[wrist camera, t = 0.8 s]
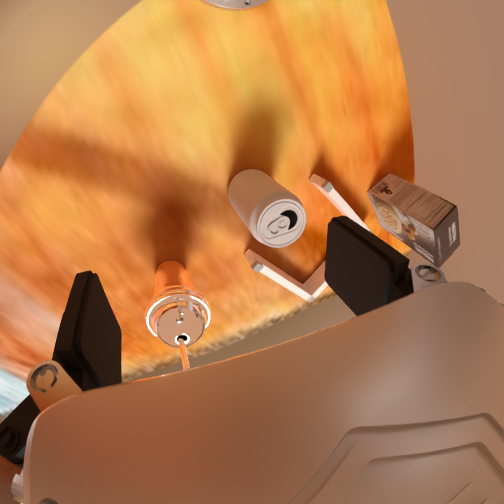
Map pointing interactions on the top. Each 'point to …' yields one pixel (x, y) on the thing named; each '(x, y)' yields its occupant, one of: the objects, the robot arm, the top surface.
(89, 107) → the top surface
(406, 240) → the coffee box
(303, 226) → the beverage can
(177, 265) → the cup with straw
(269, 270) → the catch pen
